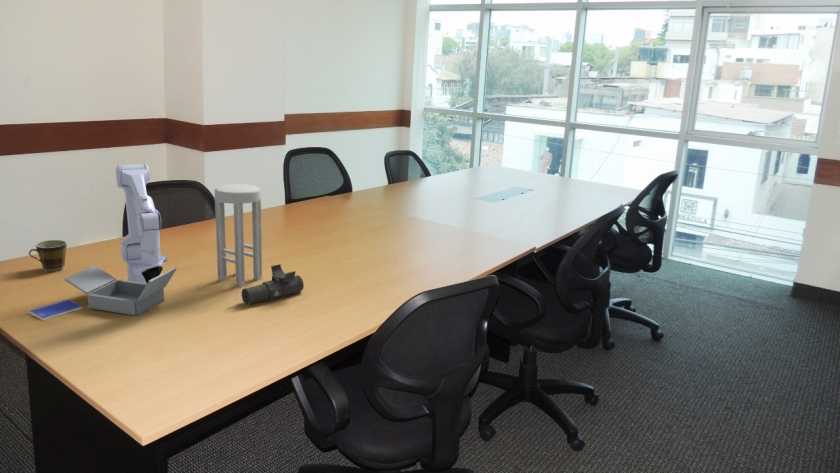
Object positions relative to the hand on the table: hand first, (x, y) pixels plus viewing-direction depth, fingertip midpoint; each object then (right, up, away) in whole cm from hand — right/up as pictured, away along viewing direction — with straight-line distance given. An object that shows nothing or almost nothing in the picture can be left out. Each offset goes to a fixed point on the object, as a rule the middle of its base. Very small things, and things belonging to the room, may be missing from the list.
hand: (152, 288), depth 211 cm
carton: (-10, -6, +4) cm, 12 cm away
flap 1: (-22, +3, +5) cm, 23 cm away
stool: (+20, +1, +32) cm, 38 cm away
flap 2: (+2, +2, -1) cm, 3 cm away
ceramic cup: (-51, +4, +31) cm, 60 cm away
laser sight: (+36, -5, +17) cm, 40 cm away
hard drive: (-29, -8, -3) cm, 31 cm away
